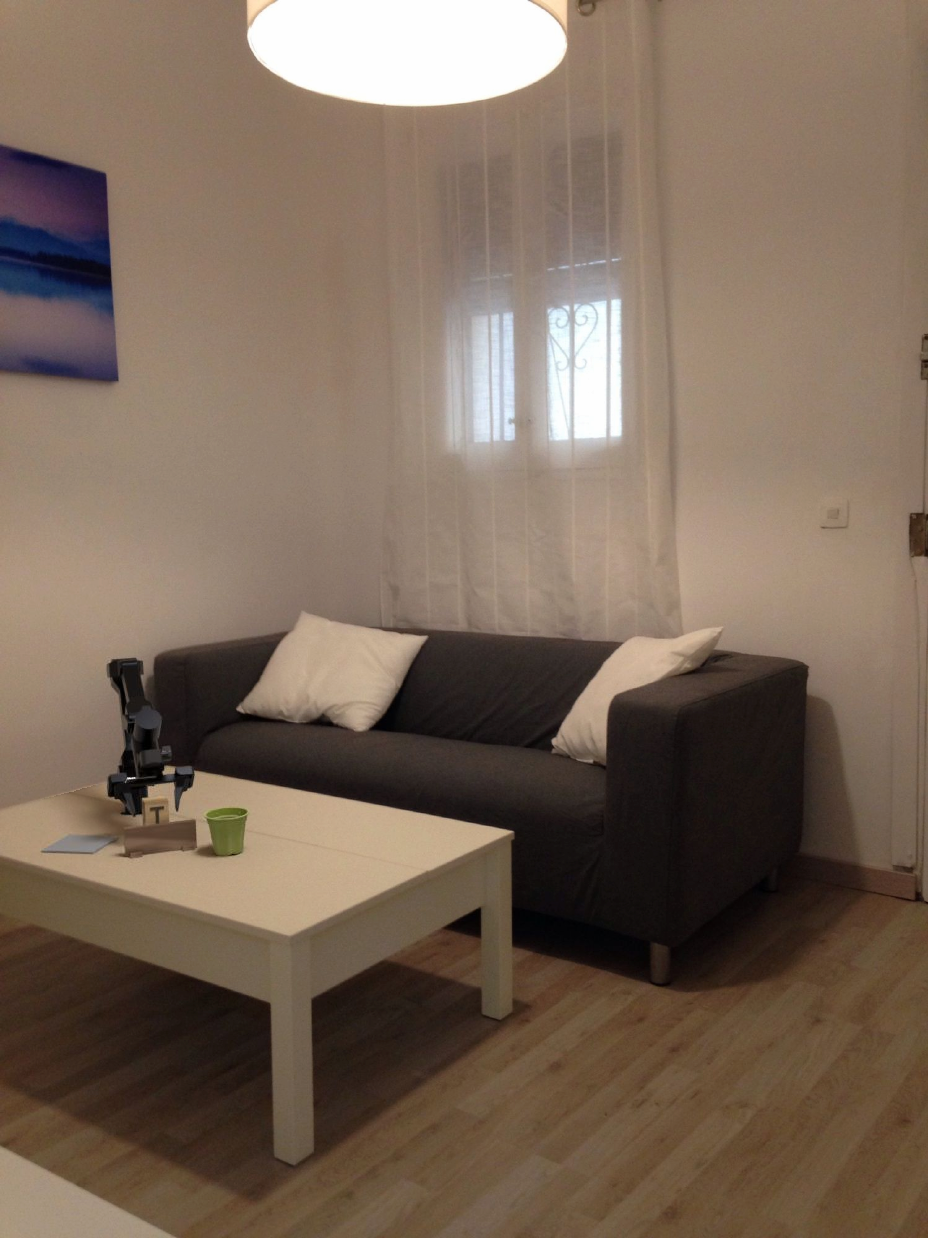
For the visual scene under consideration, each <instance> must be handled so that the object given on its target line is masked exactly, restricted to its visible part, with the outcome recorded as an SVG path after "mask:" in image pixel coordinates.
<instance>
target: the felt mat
mask: <svg viewBox="0 0 928 1238" xmlns="http://www.w3.org/2000/svg"><path fill="white" fill-rule="evenodd" d="M119 837H120V836H119V835H99V834H97V835H95V834H94V835H93V834H68V835H66V836H64V837H62V838H60V839H58V840H57V841H55V842H54V843H52V844H50V845H48V846H47V847H45V848H43V849H41V853H52V854H53V853H55V854H57V853H58V854H59V853H60V854H79V855H81V854H83V855H85V854H86V855H94V854H95V853H97V852H98V851H100V850H102V849H104V848H105V847H107V846H108V845H110V844H111V843H113V842H114V841H116V840H118V839H119Z"/></svg>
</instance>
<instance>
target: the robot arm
mask: <svg viewBox="0 0 928 1238" xmlns="http://www.w3.org/2000/svg"><path fill="white" fill-rule="evenodd" d="M105 666H106V677H107V678H108V679H109V681H110V687H111V688H112V689H113V690H114V691H115V692H116V694H118V702H119V712H120V720H121V727H122V728H121V729H122V738H123V746H124V748H123V749H124V750H123V752H122V753H121V756H120V759H119V765H117V767H116V768H117V770H116V773H109V775H108V776H107V779H106V780H107V781H106V782H107V783H106V793H107V797H108V798H114V800H118V801H119V802H121V803H122V804H123V805H124V807H123V809H122V810H121V811H120V815H131V816H132V817H133V818H136V817H137V816H136V815H137V814H139V815H140V814H142V798H147V797H149V787H155V786H156V785H166V784H173V785H174V792H173V793H174V794H173V795H174V808H175V811H176V813H178V812H179V809H180V804H181V798H182V795H183V793H184V792H187V791H188V789H192V788H193V786H194V781H195V775H196V774H195V773H196V772H195V768H194V767H192V765H183V766H174V767H175V769H174V773H166V774H164V772H165V762H171V761H172V759H173V753H172V748H171V745H162V747H161V748H159V747H160V746H159V742H158V739H159V738H160V735H161V734H160V732H161V726H162V724H164V720H163V717H162V715H161V714H160V712H158V711H157V710H155V706H154V704H153V702H152V701H150V700H148V699H147V697H146V695H145V694H146V693H145V690H144V686H143V681H142V676H144V675H145V673H144V671H145V670H144V660H140V659H137V657H124V658H112V659H110V662H108V663H107V664H106V665H105Z"/></svg>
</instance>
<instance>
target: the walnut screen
mask: <svg viewBox="0 0 928 1238" xmlns="http://www.w3.org/2000/svg"><path fill="white" fill-rule="evenodd" d="M197 837H198V836H197V820H196V819H194V818H192V819H184V820H183V819H182V820H177V821H169V822H167V823H159V824H151V825H143V824H142V825H137V826H127V827H123V838H124V839H123V841H124V856H125V858H130V859H134V858H141V857H143V855H152V854H158V853H166V852H173V851H180V850H182V852H186V851H194V850H195V848H198V842H197V841H198V839H197Z"/></svg>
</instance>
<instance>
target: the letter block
mask: <svg viewBox="0 0 928 1238" xmlns="http://www.w3.org/2000/svg"><path fill="white" fill-rule="evenodd" d="M169 805H170V804H169V800H168V798H167V797H166V796H165V795H160V796H159V795H158V796H150V797H149V796H148V797H147V798H142V813H141V814H142V826H143V825H151V824H159V823H167V822H170V809H169Z"/></svg>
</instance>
